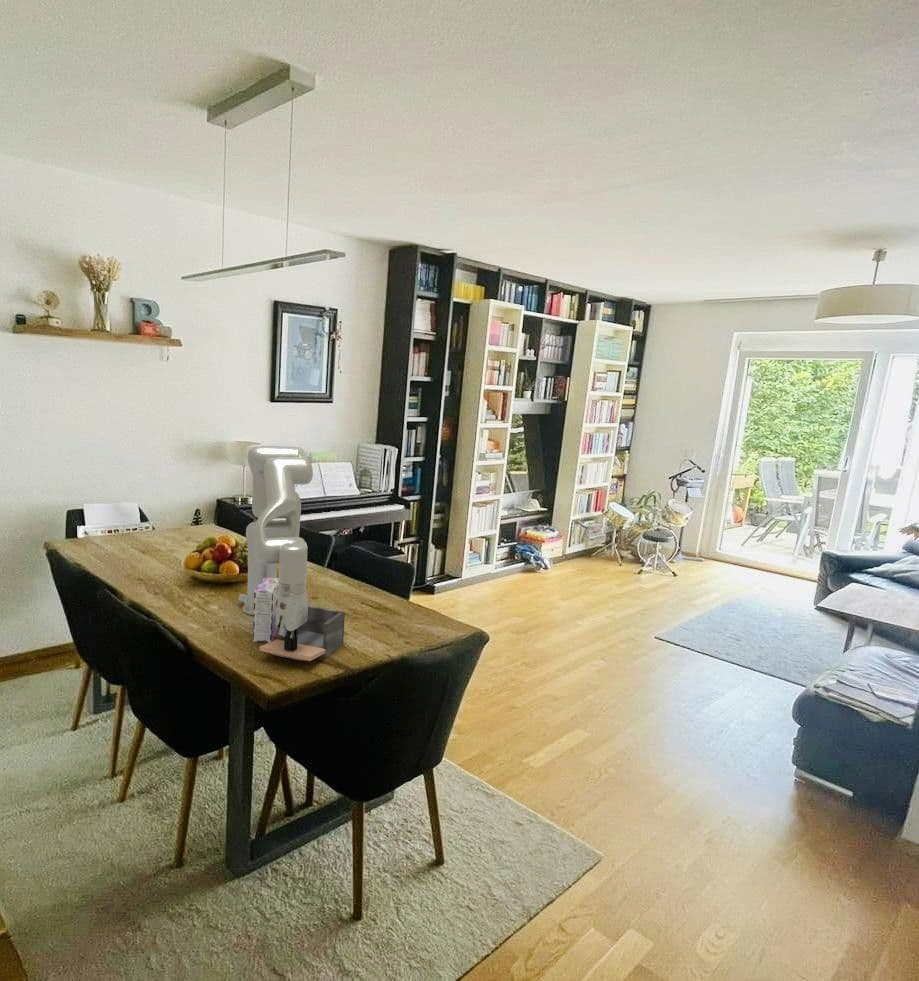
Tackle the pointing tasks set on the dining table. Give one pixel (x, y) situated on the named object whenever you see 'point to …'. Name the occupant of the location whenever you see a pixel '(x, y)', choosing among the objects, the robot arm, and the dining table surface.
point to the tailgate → (299, 654)
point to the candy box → (265, 610)
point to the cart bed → (322, 630)
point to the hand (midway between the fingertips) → (290, 649)
